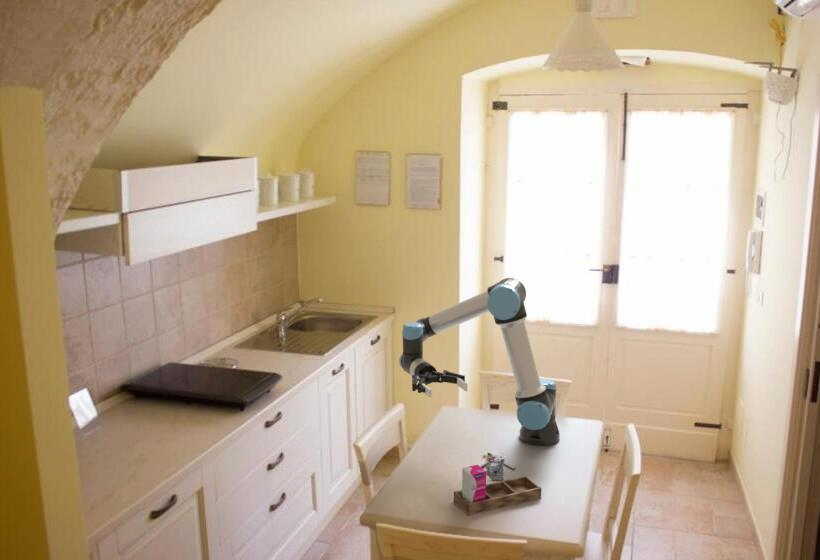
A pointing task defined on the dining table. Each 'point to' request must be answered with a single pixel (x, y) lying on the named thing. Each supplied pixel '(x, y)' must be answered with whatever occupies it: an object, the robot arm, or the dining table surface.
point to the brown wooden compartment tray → (501, 495)
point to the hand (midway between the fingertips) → (448, 390)
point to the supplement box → (473, 484)
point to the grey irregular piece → (495, 469)
